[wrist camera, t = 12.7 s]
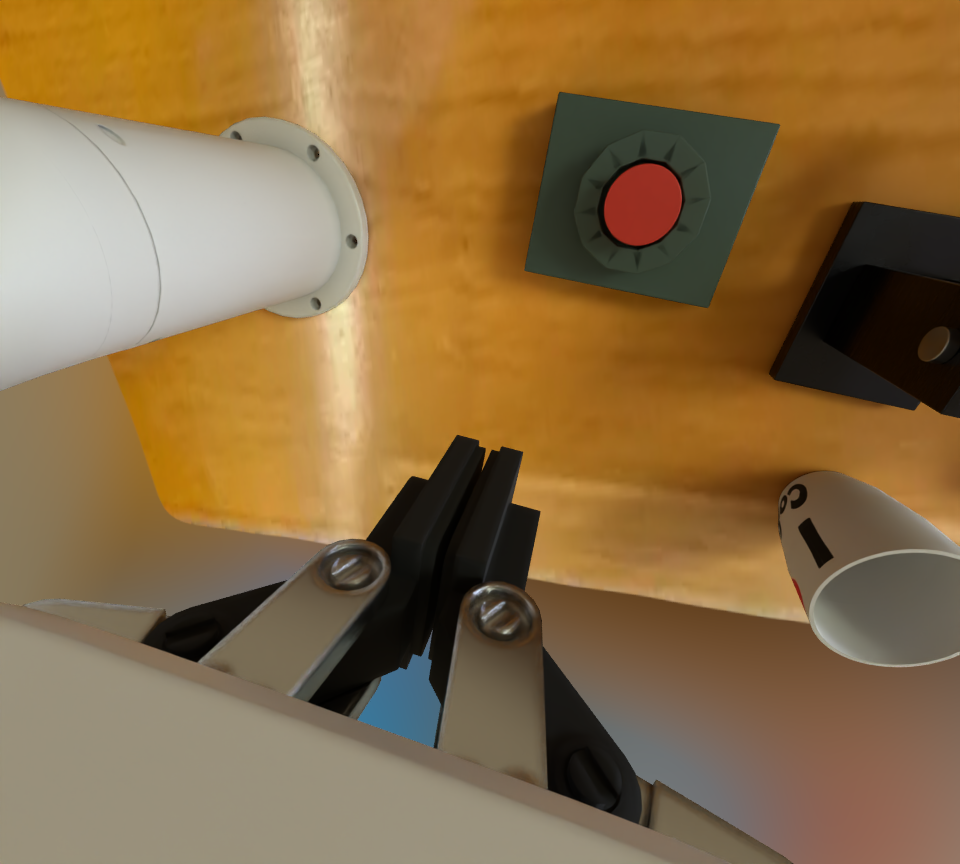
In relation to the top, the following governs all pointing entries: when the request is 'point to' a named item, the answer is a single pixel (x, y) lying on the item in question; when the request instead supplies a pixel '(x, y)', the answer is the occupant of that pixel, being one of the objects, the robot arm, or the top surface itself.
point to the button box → (620, 146)
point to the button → (642, 204)
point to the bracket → (883, 312)
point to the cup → (870, 572)
